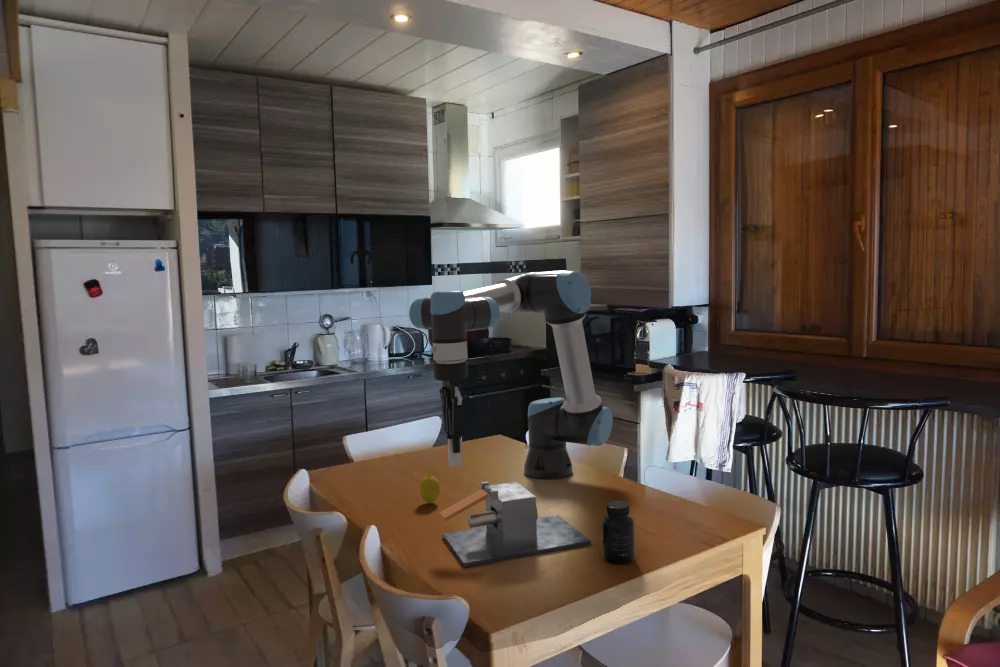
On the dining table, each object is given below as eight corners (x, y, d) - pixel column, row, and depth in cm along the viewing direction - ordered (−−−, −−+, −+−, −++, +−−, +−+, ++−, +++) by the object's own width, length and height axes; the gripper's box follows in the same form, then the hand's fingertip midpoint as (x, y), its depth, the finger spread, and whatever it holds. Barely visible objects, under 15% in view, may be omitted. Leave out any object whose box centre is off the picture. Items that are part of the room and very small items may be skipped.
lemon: (437, 507, 177) (436, 478, 177) (417, 506, 179) (416, 477, 178) (443, 500, 183) (441, 472, 182) (423, 499, 184) (422, 471, 183)
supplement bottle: (599, 553, 145) (598, 499, 144) (629, 551, 145) (629, 498, 144) (607, 566, 138) (606, 510, 137) (639, 564, 138) (638, 508, 137)
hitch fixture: (558, 518, 166) (556, 465, 165) (591, 544, 149) (589, 485, 148) (442, 537, 156) (440, 480, 155) (464, 567, 139) (461, 504, 138)
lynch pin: (529, 517, 156) (529, 497, 156) (537, 524, 152) (537, 503, 151) (466, 527, 151) (466, 506, 151) (473, 535, 146) (472, 513, 146)
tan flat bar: (489, 488, 152) (487, 484, 152) (495, 494, 148) (493, 489, 148) (441, 515, 149) (439, 511, 148) (446, 522, 144) (444, 517, 144)
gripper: (426, 359, 150) (432, 460, 152) (441, 366, 137) (446, 476, 140) (458, 356, 152) (463, 456, 154) (475, 363, 140) (480, 471, 142)
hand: (455, 465), depth 147 cm, fingers closed
